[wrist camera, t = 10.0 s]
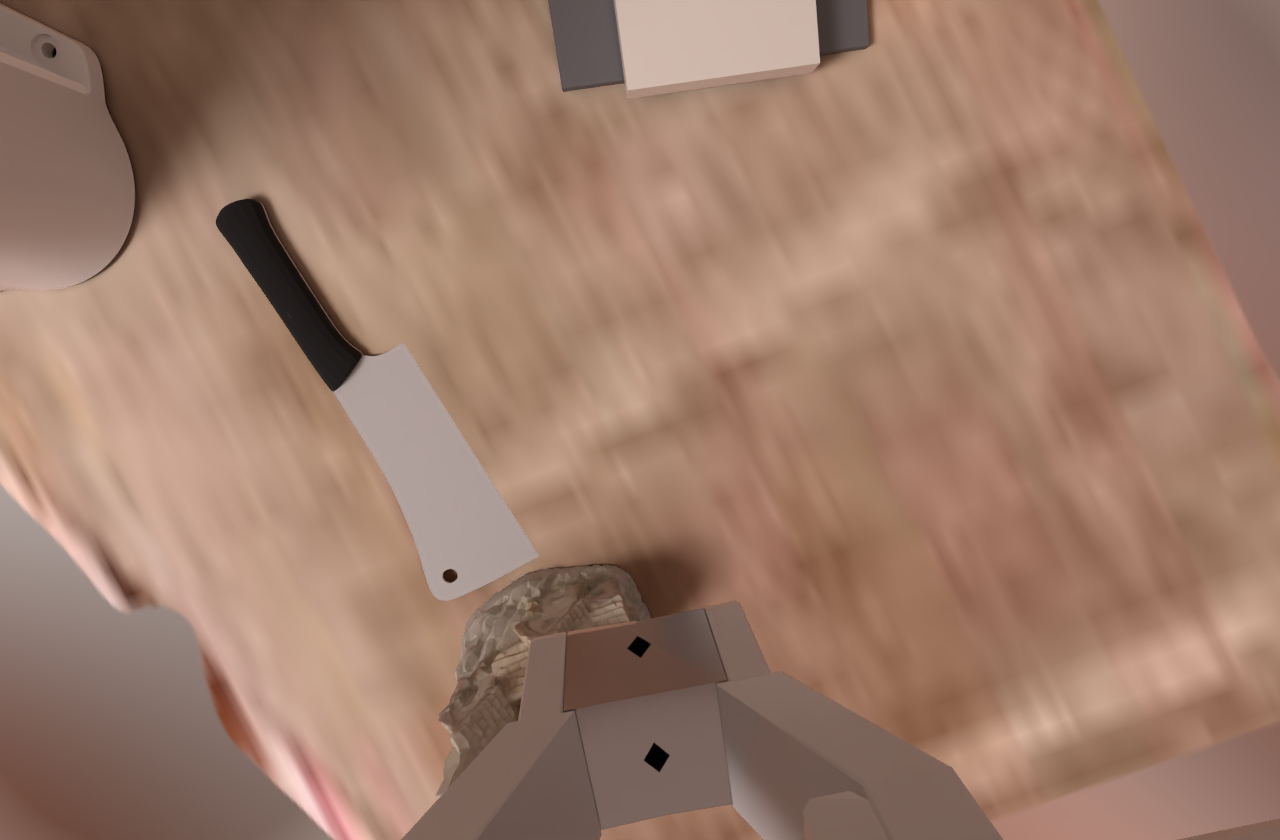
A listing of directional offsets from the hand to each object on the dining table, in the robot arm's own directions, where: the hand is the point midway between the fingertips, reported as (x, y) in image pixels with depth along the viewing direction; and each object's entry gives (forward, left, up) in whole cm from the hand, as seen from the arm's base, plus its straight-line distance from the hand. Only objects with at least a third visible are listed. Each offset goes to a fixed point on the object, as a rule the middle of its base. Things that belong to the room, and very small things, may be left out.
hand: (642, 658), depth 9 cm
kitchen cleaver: (-12, -11, -36) cm, 39 cm away
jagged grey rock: (+11, -22, -35) cm, 43 cm away
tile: (-6, +18, -33) cm, 39 cm away
